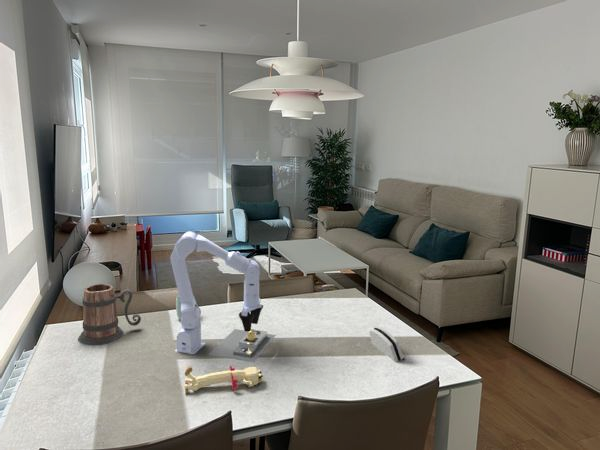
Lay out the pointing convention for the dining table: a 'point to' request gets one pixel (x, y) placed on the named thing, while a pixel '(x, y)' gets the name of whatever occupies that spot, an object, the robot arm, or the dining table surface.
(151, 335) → the dining table surface
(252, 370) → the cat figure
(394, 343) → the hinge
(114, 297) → the tankard
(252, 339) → the pin
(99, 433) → the dining table surface
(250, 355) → the latch strike plate
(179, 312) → the cup
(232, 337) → the mat
